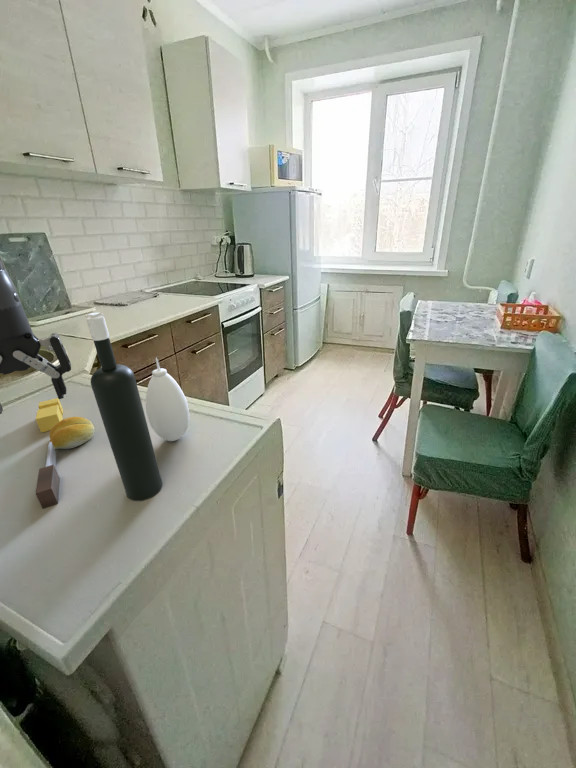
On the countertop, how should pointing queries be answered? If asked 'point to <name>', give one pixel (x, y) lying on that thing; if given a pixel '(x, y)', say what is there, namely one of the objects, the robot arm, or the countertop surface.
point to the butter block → (48, 418)
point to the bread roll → (71, 432)
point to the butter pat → (51, 404)
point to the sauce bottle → (166, 406)
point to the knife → (48, 480)
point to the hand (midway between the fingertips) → (31, 404)
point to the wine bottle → (123, 417)
